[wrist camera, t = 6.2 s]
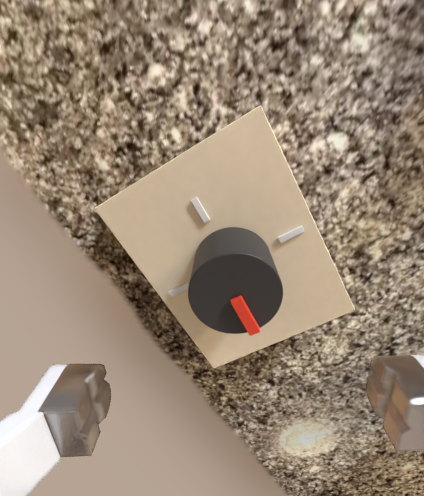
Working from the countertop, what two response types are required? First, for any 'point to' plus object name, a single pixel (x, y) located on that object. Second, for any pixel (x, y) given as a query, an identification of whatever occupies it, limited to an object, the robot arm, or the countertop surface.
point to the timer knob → (234, 282)
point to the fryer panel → (223, 216)
